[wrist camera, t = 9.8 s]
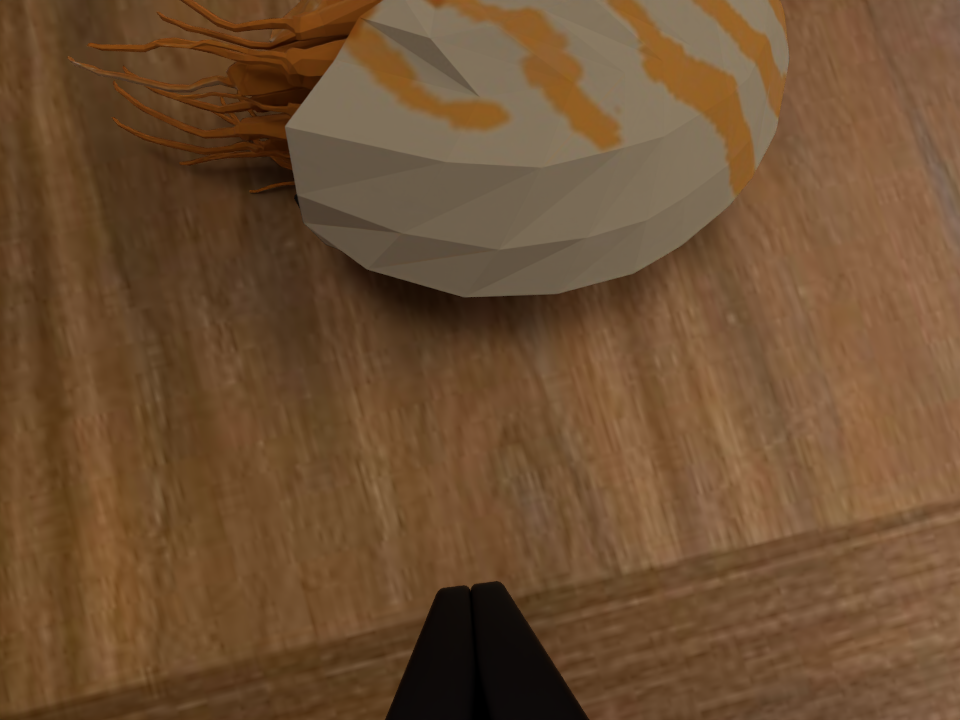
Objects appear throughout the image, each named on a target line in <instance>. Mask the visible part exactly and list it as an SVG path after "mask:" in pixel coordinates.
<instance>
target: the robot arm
mask: <svg viewBox="0 0 960 720" xmlns="http://www.w3.org/2000/svg"><path fill="white" fill-rule="evenodd" d="M385 720H589V719H588V717H587V715H586V714H585V712H584V711H583V709H582V708H581V706H580V704H579V703H578V701H577V700H576V698H575V697H574V695H573V693H572V692H571V690H570V689H569V687H568V685H567V684H566V682H565V681H564V679H563V678H562V676H561V674H560V673H559V671H558V670H557V668H556V667H555V665H554V663H553V662H552V660H551V659H550V657H549V656H548V654H547V652H546V651H545V649H544V648H543V646H542V645H541V643H540V641H539V640H538V638H537V637H536V635H535V634H534V632H533V630H532V629H531V627H530V626H529V624H528V623H527V621H526V619H525V618H524V616H523V615H522V613H521V611H520V610H519V608H518V607H517V605H516V604H515V602H514V600H513V599H512V597H511V596H510V594H509V593H508V591H507V589H506V588H505V586H504V585H503V584H502V583H501V582H498V581H495V582H487V583H479V584H474V585H473V586H472V587H471V591H470V589H469V587H467V586H465V585H463V586H455V587H447V588H442V589H440V590H439V591H438V592H437V594H436V596H435V599H434V601H433V603H432V606H431V608H430V611H429V613H428V616H427V618H426V621H425V623H424V626H423V628H422V630H421V633H420V635H419V638H418V640H417V643H416V645H415V648H414V650H413V653H412V655H411V657H410V660H409V662H408V665H407V667H406V670H405V672H404V675H403V677H402V680H401V682H400V684H399V687H398V689H397V692H396V694H395V697H394V699H393V702H392V704H391V707H390V709H389V712H388V714H387V716H386V719H385Z"/></svg>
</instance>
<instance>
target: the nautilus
mask: <svg viewBox="0 0 960 720" xmlns="http://www.w3.org/2000/svg"><path fill="white" fill-rule="evenodd" d="M181 1H182V2H183V3H185V4H186V5H188V6H189V7H191V8H192V9H194V10H195V11H196V12H198V13H199V14H201V15H202V16H204V17H205V18H206V19H208V20H209V21H211V22H212V23H214V24H215V25H216V26H218V27H221V28H224V29H227V30H230V31H233V32H241V31H250V30H261V29H273V31H272V34H271V37H270V40H269V41H270V43H266V42H253V41H249V40H246V39H242V38H238V37H235V36H231V35H227V34H224V33H220V32H216V31H212V30H209V29H205V28H200V27H194V26H189V25H187V24H185V23H183V22H181V21H178V20H175V19H171V18H168V17H165V16H164V15H162V14H161V13H160V12H157V14H158V15H159V16H160V17H161V19H162V20H163V21H166V22H169V23H171V24H174V25H177V26H179V27H181V28H182V29H184V30H186V31H190V32H195V33H200V34H204V35H207V36H210V37H214V38H217V39H220V40H224V41H227V42H230V43H234V44H237V45H240V46H244V47H247V48H250V49H265V50H268V51H256V50H250V49H246V48H243V47H239V46H236V45H232V44H228V43H223V42H219V41H215V40H201V41H199V42H195V41H190V40H185V39H180V38H164V39H158V40H156V41H153V42H150V43H148V44H145V45H100V44H94V43H89V44H88V45H87V46H90V47H93V48H96V49H99V50H102V51H129V52H147V51H149V50H152V49H155V48H157V47H160V46H161V47H176V48H189V49H194V50H198V51H203V52H208V53H212V54H216V55H219V56H222V57H225V58H228V59H231V60H234V61H237V62H236V63H234V64H233V65H231V66H230V67H229V68H228V70H227V71H226V73H227V75H228V77H223V76H212V77H207V78H202V79H201V80H199V81H197V82H195V83H193V84H192V85H175V84H168V83H163V82H159V81H154V80H150V79H145V78H141V77H138V76H136V75H135V74H133V73H131V72H130V71H128V70H127V69H126V67H125V66H124V65H123V70H124V71H125V73H126V74H123V73H119V72H112V71H103V70H101V69H99V68H97V67H94V66H92V65H88V64H84V63H80V62H76V61H75V60H74V59H72V58H71V57H67V58H68V59H69V60H70V61H71V63H72V64H73V65H74V66H77V67H80V68H83V69H86V70H89V71H91V72H93V73H95V74H97V75H99V76H103V77H110V78H116V79H120V80H124V81H128V82H132V83H136V84H140V85H143V86H145V87H147V88H148V89H150V90H152V91H153V92H155V93H157V94H160V95H163V96H166V97H168V98H172V99H175V100H177V101H180V102H183V103H186V104H189V105H192V106H194V107H197V108H200V109H204V110H208V111H211V112H213V113H214V114H216V115H218V116H219V117H221V118H222V119H224V120H225V121H227V122H228V123H230V124H233V125H236V126H234V127H228V128H219V129H213V130H208V131H204V130H201V129H198V128H195V127H192V126H189V125H187V124H184V123H182V122H180V121H178V120H175V119H173V118H171V117H169V116H166V115H164V114H162V113H160V112H157V111H155V110H153V109H151V108H148V107H146V106H144V105H143V104H141V103H140V102H139V101H137V100H136V99H134V98H133V97H132V96H130V95H129V94H128V93H126V92H125V91H124V90H122V89H121V88H120V87H118V85H117V84H116V82H115V81H113V85H114V87H115V89H116V90H117V91H118V92H119V93H120V94H121V95H123V96H124V97H125V98H126V99H127V100H129V101H130V102H131V103H132V104H133V105H135V106H136V107H138V108H139V109H140V110H142V111H143V112H145V113H147V114H150V115H152V116H154V117H156V118H158V119H160V120H162V121H164V122H166V123H168V124H170V125H173V126H175V127H177V128H179V129H181V130H183V131H185V132H188V133H191V134H194V135H197V136H200V137H202V138H205V139H209V138H230V137H240V138H241V139H242V140H247V141H249V140H252V141H253V142H254V143H251V142H246V141H245V142H237V143H235V144H233V145H229V146H224V147H213V148H204V147H199V146H194V145H190V144H185V143H180V142H176V141H171V140H167V139H162V138H157V137H153V136H148V135H146V134H144V133H141V132H139V131H137V130H134V129H132V128H130V127H128V126H125V125H123V124H121V123H120V122H119V121H118V120H117V119H116V118H115V117H112V119H113V120H114V121H115V122H116V124H117V125H118V126H120V127H121V128H123V129H125V130H126V131H128V132H130V133H132V134H133V135H135V136H137V137H139V138H141V139H143V140H146V141H149V142H153V143H157V144H160V145H164V146H168V147H172V148H176V149H181V150H185V151H189V152H194V153H198V154H203V155H209V156H206V157H202V158H198V159H195V160H191V161H185V162H179V164H180V165H189V166H190V165H194V164H198V163H203V162H207V161H211V160H217V159H224V158H240V157H268V156H270V157H271V158H272V159H273V160H274V161H275V162H276V163H277V164H278V165H279V166H281V167H284V168H287V169H289V170H292V171H293V174H294V180H295V181H290V182H282V183H277V184H272V185H269V186H266V187H263V188H260V189H257V190H249V191H250V193H256V192H260V191H263V190H267V189H270V188H274V187H279V186H283V185H296V191H297V194H296V195H295V197H294V199H295V201H296V203H297V204H298V206H299V208H300V210H301V215H302V219H303V223H304V224H305V225H306V226H307V227H308V228H309V229H310V230H311V231H312V232H313V233H314V234H315V235H316V236H317V237H318V238H319V239H321V240H322V241H323V242H324V243H325V244H326V245H328V246H331V247H334V248H336V249H339V250H341V251H342V252H344V253H345V254H347V255H348V256H349V257H351V258H352V259H353V260H355V261H356V262H357V263H359V264H360V265H362V266H363V267H364V268H366V269H367V270H370V271H374V272H377V273H381V274H384V275H388V276H391V277H395V278H398V279H402V280H405V281H409V282H412V283H416V284H419V285H423V286H426V287H430V288H433V289H437V290H440V291H444V292H447V293H451V294H454V295H458V296H461V297H486V296H515V295H543V294H559V293H563V292H566V291H570V290H574V289H578V288H581V287H585V286H589V285H593V284H596V283H600V282H604V281H607V280H611V279H615V278H619V277H622V276H626V275H630V274H634V273H635V272H637V271H639V270H640V269H642V268H644V267H646V266H647V265H649V264H651V263H653V262H654V261H656V260H658V259H659V258H661V257H663V256H665V255H666V254H668V253H670V252H671V251H673V250H675V249H677V248H678V247H680V246H681V245H683V244H684V243H685V242H686V241H687V240H689V239H690V238H691V237H692V236H694V235H695V234H696V233H697V232H698V231H700V230H701V229H702V228H703V227H704V226H706V225H707V224H708V223H709V222H710V221H712V220H713V219H714V218H715V217H717V216H718V215H719V214H720V213H721V212H723V211H724V210H725V209H726V208H727V207H729V205H730V204H731V203H732V202H733V200H734V199H735V198H736V197H737V196H738V194H739V193H740V192H741V191H742V189H743V188H744V187H745V186H746V184H747V183H748V182H749V181H750V180H751V178H752V177H753V175H754V173H755V171H756V169H757V167H758V165H759V163H760V161H761V159H762V158H763V156H764V154H765V152H766V150H767V148H768V146H769V144H770V142H771V140H772V138H773V136H774V134H775V133H776V129H777V124H778V118H779V113H780V107H781V102H782V96H783V91H784V86H785V80H786V75H787V69H788V64H789V51H788V41H787V32H786V23H785V14H784V11H783V8H782V5H781V2H780V0H301V1H300V2H299V3H298V4H297V6H296V7H295V8H293V9H292V10H291V11H290V12H289V13H288V14H286V15H285V16H284V17H283V18H271V19H264V20H256V21H250V22H246V23H241V24H237V25H236V24H234V23H231V22H228V21H225V20H222V19H221V18H219V17H218V16H216V15H215V14H213V13H211V12H210V11H208V10H207V9H205V8H204V7H202V6H201V5H199V4H198V3H196V2H194V1H193V0H181ZM226 49H228V50H226ZM229 50H232V51H229ZM233 51H237V52H240V53H237V52H233ZM241 53H244V54H241ZM219 84H221V85H224V86H228V87H232V88H235V89H237V95H236V94H228V93H220V92H209V93H202V94H194V95H186V96H183V95H180V94H176V93H173V92H193V91H195V90H198V89H200V88H203V87H209V86H214V85H219ZM208 96H220V100H221V104H222V105H223V106H217V105H213V104H209V103H205V102H201V101H198V100H195V99H194V98H203V97H208ZM245 96H252V97H251V98H247V97H245ZM223 97H228V98H235V99H238V100H239V101H240V102H236V103H231V104H227V105H226V103H225V102H224V99H223ZM244 100H245V101H244ZM253 110H256V111H257V112H268V111H274V112H282V113H280V114H272V115H265V116H256V114H255V113H254V112H253ZM242 111H248V112H249V113H250V115H251V116H252V117H249V118H243V119H242V120H241V121H239V120H238V118H237V117H236V116H235V114H234V112H242ZM225 113H228V114H229V115H230V117H231V118H232V119H231V118H229V117H228V116H226V115H224V114H225ZM262 138H270V139H268V140H266V141H260V140H259V139H262ZM248 149H249V150H251V151H253V152H235V151H242V150H248ZM228 152H234V153H228ZM289 152H290V153H289ZM211 154H213V155H211ZM282 159H283V160H282ZM284 160H285V161H284Z"/></svg>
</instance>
